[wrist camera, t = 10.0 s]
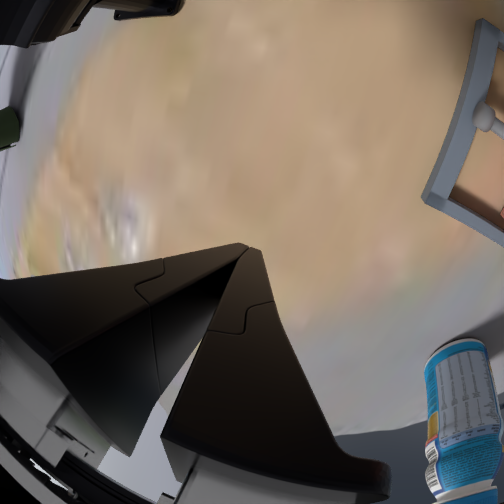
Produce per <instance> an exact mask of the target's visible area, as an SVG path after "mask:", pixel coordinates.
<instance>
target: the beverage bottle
mask: <svg viewBox="0 0 504 504" xmlns="http://www.w3.org/2000/svg"><path fill="white" fill-rule="evenodd" d="M424 375H425V382H426V388H427V403H428V440H427V442H426V447H425V452H426V457H427V459H428V461H429V466H428V468H427V469H426V472H425V477H426V481H427V484H428V486H429V488H430V490H431V492H432V493H433V494H434V496H435V497H436V498H437V502H435V503H433V504H497V493H498V490H497V486H492V487H491V483H492V481H493V480H494V478H495V476H496V474H497V472H498V470H499V468H500V466H501V463H502V460H503V456H504V446H503V444H502V443H501V437H502V433H503V420H502V417H501V414H500V407H499V402H498V397H497V392H496V387H495V382H494V378H493V374H492V370H491V366H490V362H489V358H488V353H487V349H486V347H485V345H484V344H483V343H482V342H481V341H479V340H476V339H461V340H457V341H454V342H451V343H449V344H447V345H445V346H443V347H441V348H440V349H439V350H437V351H436V352H435V353H434V354H433V355H432V356H431V357H430V358H429V359H428V361H427V363H426V365H425V369H424Z"/></svg>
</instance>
